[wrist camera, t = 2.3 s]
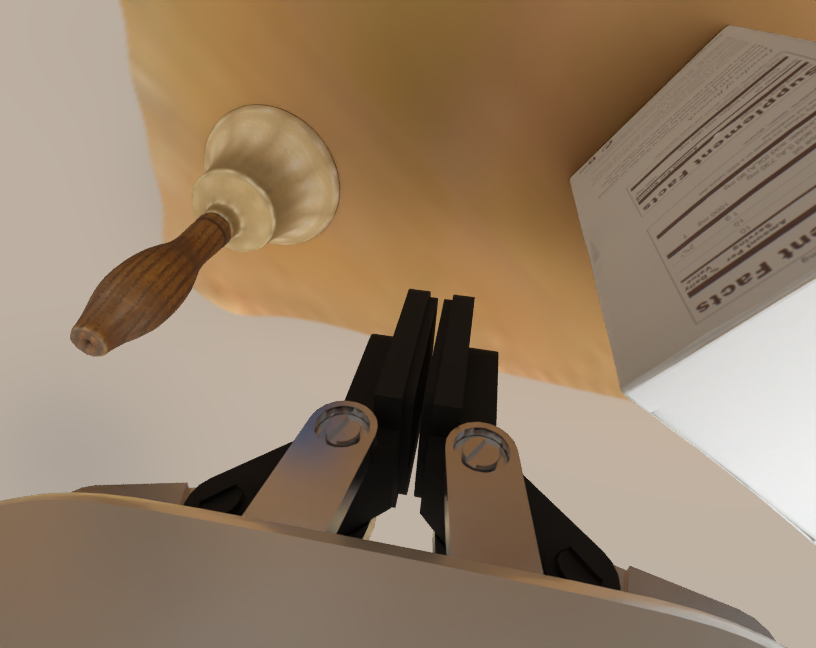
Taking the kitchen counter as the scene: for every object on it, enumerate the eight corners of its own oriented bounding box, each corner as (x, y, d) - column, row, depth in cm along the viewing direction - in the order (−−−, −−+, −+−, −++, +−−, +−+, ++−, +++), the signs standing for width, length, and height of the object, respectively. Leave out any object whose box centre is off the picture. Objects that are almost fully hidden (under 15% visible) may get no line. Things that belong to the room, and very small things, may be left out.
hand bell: (330, 104, 26) (147, 228, 13) (347, 246, 30) (225, 439, 18) (188, 104, 27) (-104, 216, 14) (226, 240, 32) (32, 415, 19)
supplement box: (856, 159, 23) (1350, 422, 9) (680, 284, 28) (835, 570, 14) (727, 14, 21) (1129, 83, 7) (562, 178, 26) (613, 399, 12)
